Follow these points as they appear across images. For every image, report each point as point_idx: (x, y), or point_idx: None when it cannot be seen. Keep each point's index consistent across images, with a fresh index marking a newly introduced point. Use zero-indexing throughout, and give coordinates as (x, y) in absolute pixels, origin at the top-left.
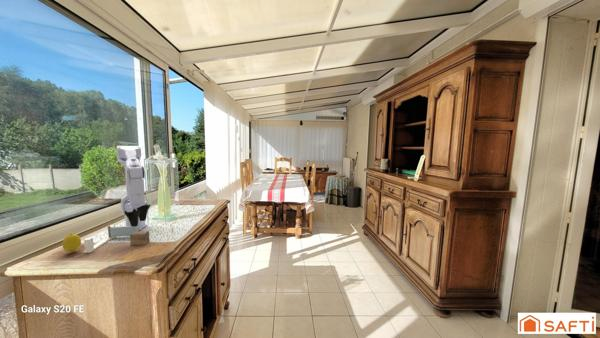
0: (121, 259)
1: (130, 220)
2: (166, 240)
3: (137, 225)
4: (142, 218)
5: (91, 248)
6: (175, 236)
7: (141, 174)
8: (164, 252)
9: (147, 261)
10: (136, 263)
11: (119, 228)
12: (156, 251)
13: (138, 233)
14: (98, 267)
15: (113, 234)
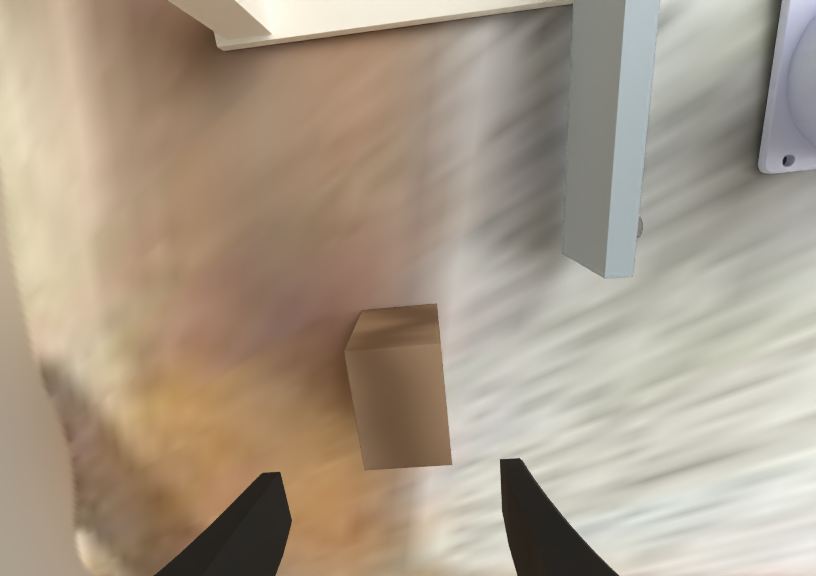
0: (141, 381)
1: (204, 552)
2: (442, 507)
3: (285, 527)
4: (508, 518)
5: (235, 32)
6: None
7: None
8: None
9: (137, 526)
10: (108, 486)
11: (611, 68)
12: None
13: (381, 410)
14: (26, 311)
15: (581, 5)
